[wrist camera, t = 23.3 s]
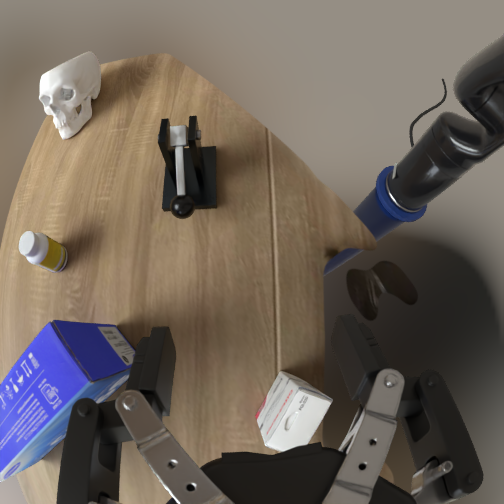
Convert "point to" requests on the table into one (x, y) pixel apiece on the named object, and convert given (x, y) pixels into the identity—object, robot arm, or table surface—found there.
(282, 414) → the ink box
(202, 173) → the lever stand
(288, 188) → the table surface
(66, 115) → the skull planter
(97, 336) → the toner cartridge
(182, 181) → the tap lever
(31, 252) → the supplement bottle
